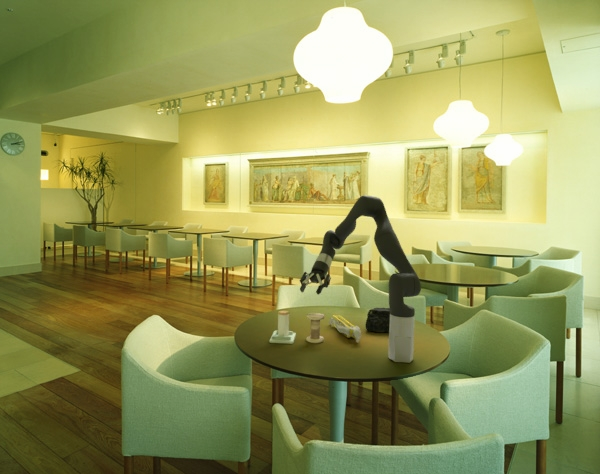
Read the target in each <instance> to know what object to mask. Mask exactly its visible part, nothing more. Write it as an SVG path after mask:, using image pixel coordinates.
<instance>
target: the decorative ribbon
mask: <svg viewBox="0 0 600 474" xmlns="http://www.w3.org/2000/svg"><path fill="white" fill-rule="evenodd" d="M333 317H334V318H333ZM335 318H336V319H337V320H338V321H337V320H336V319H335ZM332 324H333V326H334V328H335V329H336V330H337V331H338V332H339V333H340V334H341V335H343V336H344V337H346V338H353V339H355V341H356V343H357V344H358V343H360V339H361V337H362V332H361V328H360V327H359V326H358V325H354V324H352V323H351V322H349V321H348V320H347V319H345V317H343V316H342V315H340V314H339V315H336V314H332V317H330V319H329V322H328V325H330V326H331V325H332Z"/></svg>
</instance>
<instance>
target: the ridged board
mask: <svg viewBox="0 0 600 474" xmlns="http://www.w3.org/2000/svg"><path fill="white" fill-rule="evenodd" d="M296 335H297V333H296V332H294V331H293V330H292V331H291V330H289V336H278V329H277V330H274V331H273V332H272V335H271V336H270V339H269V343H271V344H291V345H292V344H294V342H295V339H296V337H297V336H296Z"/></svg>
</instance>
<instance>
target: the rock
mask: <svg viewBox="0 0 600 474" xmlns="http://www.w3.org/2000/svg"><path fill="white" fill-rule="evenodd" d="M389 325H390V307H374V308H371V309H369V310H368V312H367V318H366V321H365V329H366V331H370V332H374V333H379V332H380V333H389Z"/></svg>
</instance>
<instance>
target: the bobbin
mask: <svg viewBox="0 0 600 474" xmlns="http://www.w3.org/2000/svg"><path fill="white" fill-rule="evenodd" d="M306 319H309V320H310V335H308V336H306V339H305V341H306V342H308V343H311V344H320V343H321V344H322V343H323V342H324V341H325V338H324V336H321V335H320V334H321V321H322V320H324V319H325V314H323V313H319V312H310V313H307V314H306Z"/></svg>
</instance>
